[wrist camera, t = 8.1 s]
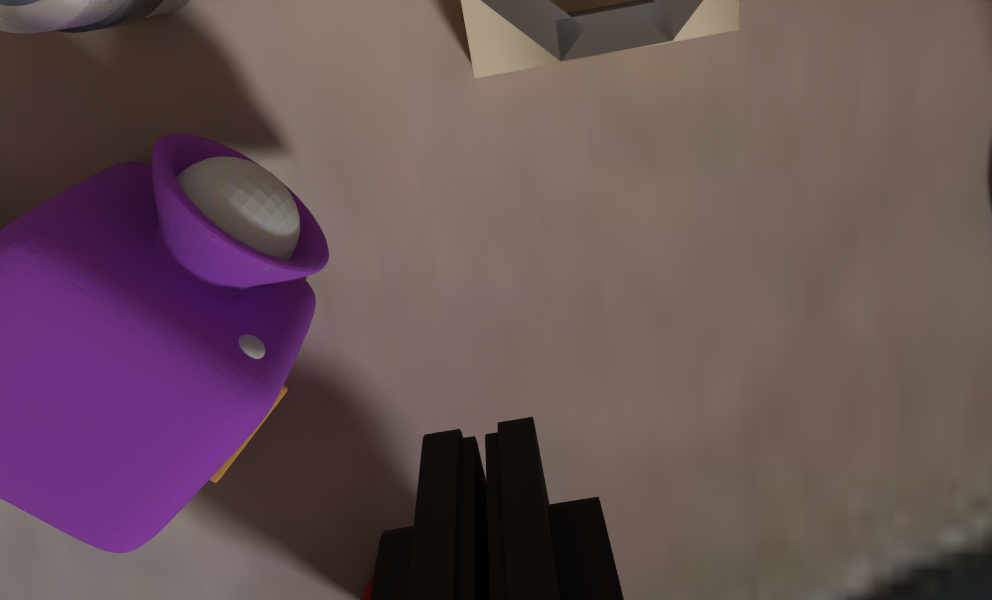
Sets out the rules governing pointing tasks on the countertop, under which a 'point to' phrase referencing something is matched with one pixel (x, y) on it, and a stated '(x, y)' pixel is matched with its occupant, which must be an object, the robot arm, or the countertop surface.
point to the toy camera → (147, 335)
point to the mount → (582, 28)
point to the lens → (78, 14)
